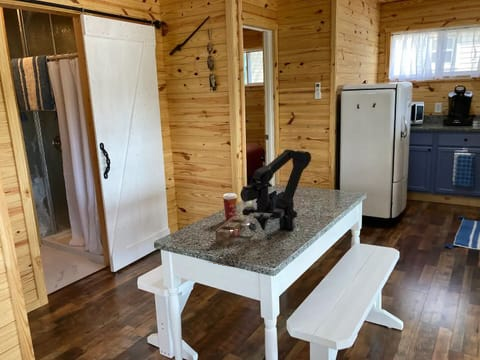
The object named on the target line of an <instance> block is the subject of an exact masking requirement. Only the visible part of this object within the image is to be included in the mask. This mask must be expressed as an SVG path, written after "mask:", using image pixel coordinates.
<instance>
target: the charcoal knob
mask: <svg viewBox="0 0 480 360" xmlns="http://www.w3.org/2000/svg"><path fill="white" fill-rule="evenodd" d="M239 224H240V228H246V229H247V230H250V231H249V232H256V231H257V227H258V225H257V222H253V221H251V222H249V223H246V224H245V223H239Z"/></svg>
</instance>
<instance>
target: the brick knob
mask: <svg viewBox="0 0 480 360" xmlns="http://www.w3.org/2000/svg"><path fill="white" fill-rule="evenodd" d="M223 230H224V229H223ZM230 232H231V235H233V237H234V238H236V239H239V238H240V236H241V235H240V229H234V230H230Z"/></svg>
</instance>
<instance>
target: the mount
mask: <svg viewBox="0 0 480 360" xmlns="http://www.w3.org/2000/svg"><path fill="white" fill-rule="evenodd" d="M239 223H245V224H247V222H246V218H245V217H239V216H238V217H236V216H234V217H232V218H231V219H230V220H228V221H226V222H224V223H223V224H222V225H220V226H219V227H218V228H216V229H215V243H216V245H224V246H229V245H231V244H232V243H233V242H234V241H236V240H237V238H234V237H233V235H231V232H230V230H234V229H240V234H241V235H242V234H243V233H244V232H245V231H246V230H247V228H240V224H239ZM223 229H224V230H223Z"/></svg>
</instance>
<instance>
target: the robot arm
mask: <svg viewBox="0 0 480 360" xmlns="http://www.w3.org/2000/svg"><path fill="white" fill-rule="evenodd" d="M290 160H292V161H291V162H292V169H291V172H290V174H289V178H288V180H287V182H286V186H285V187H284V188H285V189H284V191H283V194H282V196H281V197H279V196H278V197H276V202H275V203H274V201H271V198H270V197H269V196H270V193H269V190H270V189H269V188H271V187H273V184H272V183H270V181H271V180H272V179H273V178H274V175H275V173H276V172H278V171H279V170H280V169H281V168H282V167H284V165H286V164H287V163H288V162H289V161H290ZM311 161H312V155H311V153H310V152H309V151H307V150H306V151H304V150H298V149H297V150H294V149H288V148H286V149H284V150H283V152H282V153H280V154H279V155H278V156H277V157H275V158H274V159H273V160H272V161H271V162H270V163H268V164H267V165H264V166H262V167H260V168H258V169H256V170H255V171H253V175H252V177H251V179H250V181H249V183H248V185H247V186H245V185H244V186H242V189H241V191H240V195H239V196H240V199H241V201H242V202H244V203H246V202H251V201H254V200H255V204H256V208H255V207H254V206H248V205H247V206H245V207H244V208H243V209H242V212H241V213H242V216H247V217H248V216H250V215H251V214H254V217H253V218H254V219H256V220H257V222H258V224H259V225H260V227H261V230H262V231H265V230H266V227H267V224H268V221H269V219H271V217H272V218H274V219H278V221H279V223H278V224H279V225H278V227H279V229H278V230H279V231H287V232H292V231H294V230H295V229H296V227H297V225H295V218H298V217H297V216H298V212H297V211H296V210H295V209H294V206H295V204H294V203H295V202H294V196H295V195H296V191H297V188H298V186H299V183H300V180H301V177H302V174H303V171H304V170H305V169H306V168H308V166H309V165H310V163H311ZM273 208H274V210H272V209H273Z"/></svg>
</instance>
